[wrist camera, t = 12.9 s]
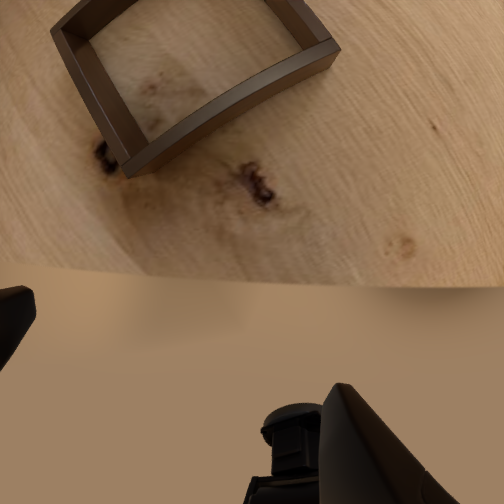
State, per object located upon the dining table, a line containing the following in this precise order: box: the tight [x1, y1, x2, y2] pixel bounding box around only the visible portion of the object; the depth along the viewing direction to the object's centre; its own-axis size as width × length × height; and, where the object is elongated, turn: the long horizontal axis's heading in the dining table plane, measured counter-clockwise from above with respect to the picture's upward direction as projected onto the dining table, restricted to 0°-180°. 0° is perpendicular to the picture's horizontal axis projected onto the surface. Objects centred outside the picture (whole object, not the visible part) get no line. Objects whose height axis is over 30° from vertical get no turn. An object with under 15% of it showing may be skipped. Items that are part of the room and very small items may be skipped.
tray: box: [50, 0, 341, 179], centre depth 13 cm, size 13×13×4 cm
